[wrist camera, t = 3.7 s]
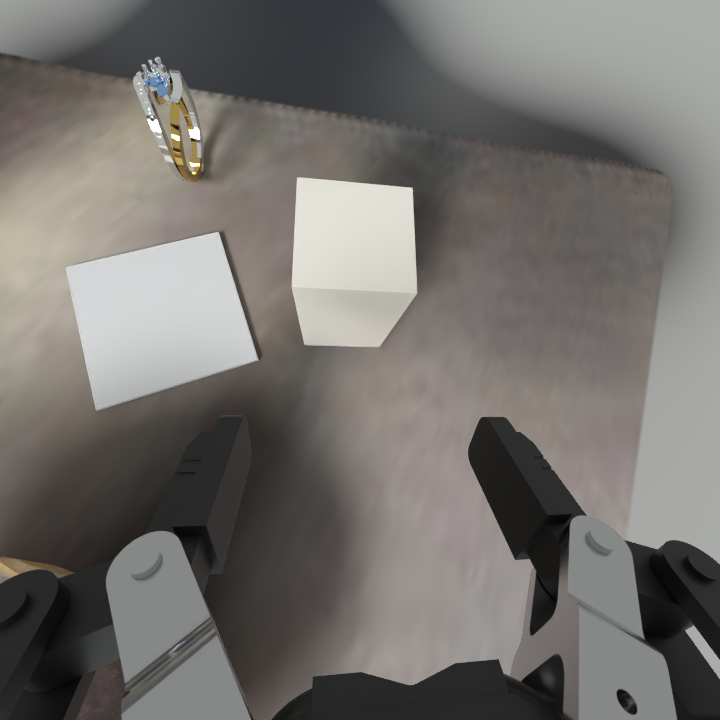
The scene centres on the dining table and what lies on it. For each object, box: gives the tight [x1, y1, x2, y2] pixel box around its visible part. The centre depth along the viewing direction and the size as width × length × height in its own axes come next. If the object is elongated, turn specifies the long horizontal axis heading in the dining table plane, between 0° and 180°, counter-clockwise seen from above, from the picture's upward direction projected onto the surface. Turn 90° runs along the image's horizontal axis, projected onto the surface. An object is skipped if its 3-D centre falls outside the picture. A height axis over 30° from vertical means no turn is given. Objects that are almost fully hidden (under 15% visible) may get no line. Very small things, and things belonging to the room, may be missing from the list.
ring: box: [133, 57, 205, 182], centre depth 24 cm, size 7×3×8 cm, turn 178°
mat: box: [66, 232, 259, 410], centre depth 25 cm, size 12×12×1 cm
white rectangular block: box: [292, 177, 417, 347], centre depth 22 cm, size 6×6×11 cm
